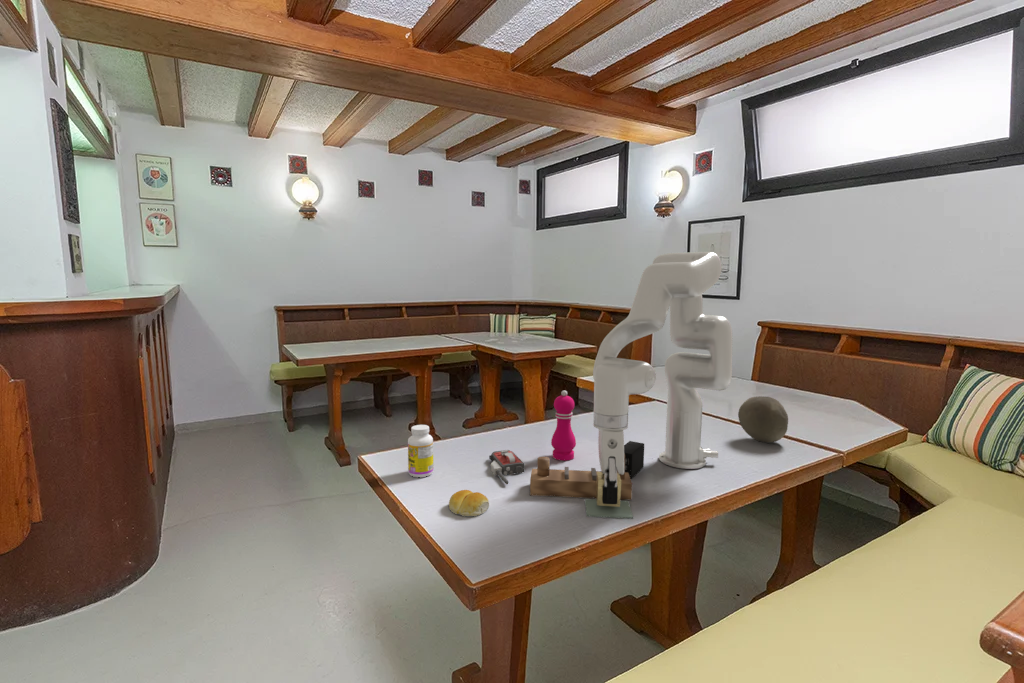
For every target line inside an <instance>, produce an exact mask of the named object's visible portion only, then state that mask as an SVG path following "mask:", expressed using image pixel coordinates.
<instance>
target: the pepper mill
mask: <svg viewBox="0 0 1024 683" xmlns="http://www.w3.org/2000/svg"><path fill="white" fill-rule="evenodd" d="M553 407H554V409H555V418H556V428H555V430H554V432H553V434H552V437H551V440H550V441H551V442H550V444H551V447H552V448H553V450H552V458H554V459H555V460H558V461H572V460H573V459H574V458H575V451H574V449H575V447H576V445H577V441H576V436H575V434H574V432H573V429H572V425H571V424H572V423H571V420H572V418H573V414H574V413H573V410H574V409H575V400H574V399H573V397H572V396H569V395H568V391H567V390H562V391H561V394H560V395H559V396H557V397H555V399H554V402H553Z"/></svg>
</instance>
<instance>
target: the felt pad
mask: <svg viewBox="0 0 1024 683" xmlns="http://www.w3.org/2000/svg"><path fill="white" fill-rule="evenodd" d="M584 503H585V504H584V506H585V515H586V517H588V518H589V517H590V518H611V519H612V518H613V519H627V518H628V519H629V518H631V519H630V520H633V519H634V515H633V512H632V509H631V505H630V502H629V500H620V507H614V506H600V505H597V502H596V498H584Z"/></svg>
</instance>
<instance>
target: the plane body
mask: <svg viewBox="0 0 1024 683" xmlns="http://www.w3.org/2000/svg"><path fill="white" fill-rule="evenodd" d="M536 460H537V461H536V462H537V464H536V465H537V466H536V468H531V472H530V480H529V483H530V484H529V495H530V496H533V497H534V496H538V497H539V496H540V497H541V496H542V497H557V498H558V497H559V498H560V497H561V498H580V499H596V481H597V472H602V471H601V470H600V471H599V470H597V469H596V467H591V468H590V470H576V469H575V470H574V469H570V467H569V466H564V469H555V468H554V469H551V468H550V457H549V456H539V457H537V459H536ZM617 473H619V472H618V470H617ZM619 475H620V478H621V497H620V501H632V500H633V499H632V498H633V482H632V479H630V476H629V473H628V472H625V454H624V474H623V475H621V474H619Z"/></svg>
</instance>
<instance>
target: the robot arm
mask: <svg viewBox="0 0 1024 683" xmlns="http://www.w3.org/2000/svg"><path fill="white" fill-rule="evenodd" d="M722 266H723V265H722V260H721V258H720V257H719V255H718V254H717V253H715V252H713V251H695V252H694V251H692V252H684V251H683V252H670V253H662V254H660V255H657V256H656V257H655V258H654V259H653V261H652V264H650V265H648V266H646V267H645V268H644V270H643V272H642V274H641V277H640V281H639V284H638V286H637V289H636V292H635V295H634V298H633V301H632V305H631V308H630V310H629V314H628V315H627V317H626V318H624V319H623V320H622V321H620V322H619V323H618V324H617V325H616V326H614V327H613V329H611V330H610V331H609V333H607V335H606V336H605V337H604V338H603V340H602V342H600V345H599V348H598V351H597V355H596V357H595V360H594V364H593V370H592V378H593V379H594V380H593V383H594V384H593V385H594V386H593V424H592V425H593V428H596V429H598V437H597V438H598V443H597V444H598V459H599V460H598V461H599V467H600V471H602V473H603V474H604V486H603V498H602V502H603V504H617V498H618V486H617V470H618V472H619V474H621V475H623V474H624V445H625V433H624V431H625V430H628V428H629V401H630V399H629V397H630V395H642V394H645V393H647V392H649V391H650V390H651V389H652V388H653V387H654V385H655V382H656V380H657V378H656V376H657V375H656V374H657V373H656V370H655V369H654V367H653V366H652V365H651V364H650V363H648V362H646V361H643V360H635V359H628V358H621V357H618V355H619V353H620V352H621V351H622V350H623V349H624V348H625V347H626V346H627V345H629V344H630V343H632V342H634V341H636V340H639V339H641V338H643V337H648V336H649V335H652V334H654V333H657V332H659V331H660V330H662V329H663V328H664V326H665V322H666V319H667V315H668V312H669V333H670V334H669V335H670V341H671V344H673V346H675V347H677V348H682V349H688V350H689V349H690V350H698V351H708V352H709V354H708V353H705V354H704V353H697V352H687V351H680V352H674V353H671V354H670V355H669V356H668V357H667V358H666V359H665V363H664V374H665V379H666V394H667V396H666V398H667V400H666V416H665V417H666V420H665V421H666V422H665V424H666V425H665V441H664V442H665V447H664V449H665V450H664V451H662V452H660V454H659V455H658V456H659V458H658V459H659V461H660V462H661V463H662V464H664V465H667V466H669V467H672V468H677V469H684V470H685V469H687V470H693V469H695V470H697V469H701V468H703V467H705V465H706V463H707V462H706V459H707V458H712V459H714V458H715V459H718V458H719V452H718V451H717V450H711V448H702V446H701V441H702V427H703V426H702V424H703V422H702V421H703V406H704V405H703V401H702V397H701V394H700V393H699V392H698V390H697V389H703V390H709V391H719V392H720V391H724V390H726V389H728V388H729V386H730V384H731V382H732V375H733V329H732V324H731V321H729V319H728V318H726V317H725V316H722V315H715V314H714V315H712V314H704V310H703V308H704V307H703V294H704V293H706V291H708V290H709V289H710V288H712V287H713V286H715V285H716V284H717V283H718V281H719V279H720V277H721V274H722V269H723V268H722ZM607 476H609V478H607Z"/></svg>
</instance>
